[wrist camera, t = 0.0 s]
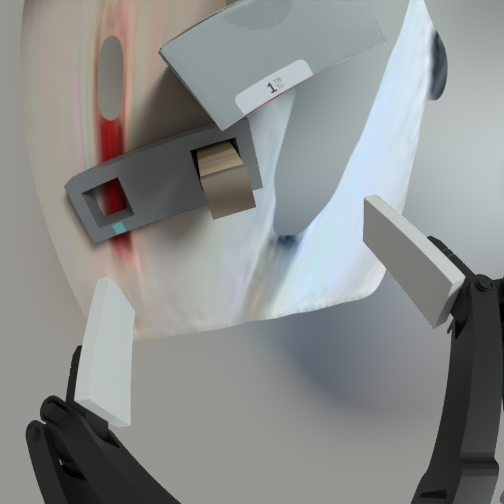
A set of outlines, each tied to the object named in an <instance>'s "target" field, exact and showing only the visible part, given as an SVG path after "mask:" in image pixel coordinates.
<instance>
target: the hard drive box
mask: <svg viewBox="0 0 504 504" xmlns="http://www.w3.org/2000/svg"><path fill="white" fill-rule="evenodd" d="M384 43H386V39H385V37H384V35H383V33H382V31H381V28H380V26H379V25H378V22H377V20H376V19H375V16H374V15H373V13H372V11H371V9H370V7H369V5H368V3H367V2H366V0H239V1H237V2H235V3H233V4H231V5H229V6H227V7H225V8H223V9H221V10H219V11H217V12H215V13H213V14H211V15H210V16H208V17H206V18H204V19H202V20H201V21H199V22H197V23H195V24H194V25H192V26H190V27H189V28H187V29H186V30H184V31H183V32H181V33H180V34H178V35H177V36H175V37H174V38H172V39H171V40H169V41H168V42H167V43H165V44H164V45H163V46H162V47H161V48H160V51H158V53H159V55H160V56H161V57H162V59H163V60H164V61H165V62H166V64H167V65H168V66H169V67H170V68H171V70H172V71H173V72H174V73H175V74H176V76H177V77H178V78H179V79H180V81H181V82H182V83H183V84H184V85H185V87H186V88H187V89H188V90H189V91H190V93H191V94H192V95H193V96H194V98H195V99H196V100H197V101H198V102H199V104H200V105H201V106H202V107H203V108H204V110H205V111H206V112H207V113H208V115H209V116H210V117H211V118H212V119H213V121H214V122H215V123H216V124H217V125H218V127H219V128H220V130H221V131H224V130H225V129H226V128H228V127H229V126H231V125H232V124H234V123H235V122H237V121H238V120H240V119H241V118H243V117H245V116H246V115H248V114H249V113H251V112H253V111H254V110H256V109H257V108H259V107H261V106H262V105H264V104H266V103H267V102H269V101H271V100H272V99H274V98H276V97H277V96H279V95H281V94H282V93H284V92H286V91H287V90H289V89H291V88H293V87H294V86H296V85H298V84H300V83H301V82H303V81H305V80H306V79H309V78H311V77H312V76H314V75H315V74H317V73H319V72H321V71H323V70H325V69H327V68H330V67H332V66H334V65H336V64H338V63H340V62H343V61H345V60H347V59H349V58H351V57H353V56H355V55H358V54H360V53H362V52H365V51H367V50H369V49H372V48H374V47H376V46H379V45H381V44H384Z"/></svg>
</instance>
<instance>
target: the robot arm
mask: <svg viewBox="0 0 504 504" xmlns="http://www.w3.org/2000/svg"><path fill="white" fill-rule="evenodd" d="M363 242H364V243H365V244H366V245H367V246H368V247H369V248H370V250H371V251H372V252H373V253H374V254H375V255H376V257H377V258H378V259H379V260H380V261H381V262H382V264H383V265H384V266H385V267H386V268H387V270H388V271H389V272H390V273H391V274H392V275H393V277H394V278H395V279H396V281H397V282H398V283H399V284H400V286H401V287H402V288H403V289H404V290H405V292H406V293H407V294H408V296H409V297H410V298H411V299H412V301H413V302H414V303H415V305H416V306H417V307H418V309H419V310H420V311H421V312H422V314H423V315H424V316H425V318H426V319H427V321H428V322H429V323H430V325H431V326H432V328H433V329H434V328H436V327H438V326H439V325H441V324H443V323H444V322H446V320H447V318H448V316H449V314H450V313H451V315H452V316H453V317H454V318H453V320H452V322H451V324H450V326H449V328H448V331H447V333H448V334H449V332H450V330H451V329H452V335H451V351H450V363H449V373H448V380H447V388H446V394H445V400H444V406H443V412H442V417H441V421H440V426H439V431H438V435H437V439H436V443H435V447H434V450H433V454H432V458H431V461H430V464H429V467H428V470H427V471H426V473H425V474H424V475H423V477H422V478H421V480H420V482H419V484H418V487H417V489H416V492H415V494H414V497H413V500H412V502H411V504H490V503H491V499H492V496H493V493H494V490H495V486H496V482H497V478H498V473H499V465H498V463H497V462H496V460H495V458H494V454H495V448H496V442H497V436H498V430H499V422H500V413H501V400H503V410H504V277H503V278H502V279H497V280H492V279H490V278H489V277H487V276H485V275H482V274H477V275H475V274H474V273H473V272H472V271H471V270H470V269H469V268H468V267H467V266H466V265H465V264H464V263H463V262H462V261H461V260H460V259H459V258H458V257H457V256H456V255H454V254H453V252H452V251H451V250H450V249H448V247H446V245H444V244H443V243H442V242H441V241H440V240H438V239H436V238H434V237H432V236H429V237H425V236H424V235H423V234H422V233H421V232H419V230H417V229H416V228H415V227H414V226H413V225H412V224H411V223H410V222H409V221H407V220H406V219H405V218H404V217H403V216H402V215H400V214H399V213H398V212H397V211H396V210H395V209H393V208H392V207H391V206H390V205H389V204H387V203H386V202H385V201H384V200H382V199H381V198H380V197H379V196H378V195H372V196H368V197H365V198H364V226H363ZM134 317H135V311H134V309H133V308H132V307H131V305H130V304H129V302H128V301H127V300H126V298H125V297H124V295H123V294H122V292H121V291H120V289H119V288H118V286H117V285H116V283H115V282H114V280H113V279H112V277H111V276H107V277H104V278H101V279H98V281H97V285H96V289H95V292H94V296H93V300H92V304H91V308H90V312H89V316H88V321H87V325H86V331H85V335H84V340H83V345H81V346H77V349H76V350H75V352H74V354H73V357H72V362H71V368H70V376H69V380H68V388H67V394H66V402H64V401H63V400H61V399H60V398H59V397H57V396H54V395H53V396H49V397H48V398H46V399H45V400H44V402H43V403H42V406H41V409H40V416H41V420H42V421H44V422H46V424H42V423H41V422H39V421H37V420H34V421H31V423H30V424H29V425H28V427H27V429H26V441H27V445H28V449H29V454H30V458H31V461H32V465H33V469H34V472H35V475H36V479H37V482H38V485H39V488H40V490H41V494H42V496H43V499H44V502H45V504H181V503H180V502H179V501H177V500H176V499H175V498H174V497H173V496H172V495H171V494H170V493H168V492H167V491H166V490H165V489H164V488H163V487H162V486H161V485H160V484H159V483H158V482H157V481H156V480H155V479H154V478H153V477H152V476H151V475H150V474H149V473H148V472H147V471H146V470H145V469H144V468H143V467H142V466H141V465H140V464H139V463H138V461H137V460H136V459H135V458H134V457H133V456H132V455H131V454H130V453H129V451H128V450H127V449H126V448H125V447H124V446H123V444H122V443H121V442H120V441H119V440H118V438H117V437H116V436H115V435H114V433H113V432H112V431H111V430H109V429H108V423H110V424H112V425H114V426H115V427H122V426H131V412H130V393H131V387H130V386H131V360H132V342H133V329H134ZM59 460H61V463H62V465H61V464H60V461H59ZM500 502H501V503H504V491H503V493H502V494H501V496H500Z"/></svg>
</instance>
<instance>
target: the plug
mask: <svg viewBox="0 0 504 504" xmlns="http://www.w3.org/2000/svg"><path fill="white" fill-rule="evenodd" d="M196 151H197V158H198V164H199V171H200V181H201V184H202V187H203V190H204V193H205V196H206V199H207V202H208V205H209V208H210V211H211V214H212V217H213V220H214V219H218V218H221V217H224V216H227V215H231V214H234V213H237V212H241V211H244V210H247V209H251V208H254V207H256V205H255V200H254V196H253V192H252V187H251V183H250V179H249V175H248V171H247V167H246V165H245V164H244V163H243V162H242V160H241V158H240V157H239V155H238V154H237V152H236V151H235V149H234V147H233V146H232V144H231V143H230V141H229V140H228V139H227V140H224V141H220V142H217V143H213V144H210V145H206V146H203V147H200V148H197V149H196Z"/></svg>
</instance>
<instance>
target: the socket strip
mask: <svg viewBox="0 0 504 504" xmlns="http://www.w3.org/2000/svg"><path fill="white" fill-rule="evenodd" d="M231 138H233V140H234V144H235V148H236V152H237V154H238V155H239V157H240V158H241V160H242V162H243V163H244V164H245V165H246V167H247V171H248V175H249V179H250V183H251V187H252V191H253V190H256V189H260V188H263V186H262V181H261V176H260V172H259V167H258V162H257V158H256V153H255V149H254V144H253V140H252V136H251V131H250V127H249V122H248V119H247V118H246V117H243V118H241V119H240V120H238V121H237V122H235V123H234V124H232V125H231V126H229V127H228V128H226V129H225V130H224V131H221V130H220V128H219V127H218V125H217V124H216V123H215V122H214V123H210V124H207V125H203V126H200V127H197V128H194V129H190V130H187V131H184V132H181V133H178V134H175V135H172V136H169V137H166V138H163V139H161V140H158V141H155V142H152V143H150V144H147V145H144V146H142V147H139V148H137V149H134V150H132V151H129V152H127V153H124V154H122V155H119V156H117V157H115V158H112V159H110V160H108V161H106V162H103V163H101V164H99V165H97V166H95V167H92V168H90V169H88V170H86V171H84V172H82V173H80V174H78V175H76V176H74V177H72V178H71V179H70V180H69V181H68V183H67V184H66V185H65V186H64V187H65V189H66V191H67V194H68V196H69V198H70V200H71V202H72V204H73V205H74V207H75V209H76V211H77V213H78V215H79V217H80V219H81V221H82V222H83V224H84V226H85V228H86V230H87V232H88V233H89V235H90V237H91V239H92V240H93V242H94V244H95V243H98V242H100V241H103V240H105V239H108V238H111V237H113V236H116V235H119V234H121V233H124V232H127V231H129V230H132V229H135V228H138V227H141V226H143V225H146V224H149V223H152V222H155V221H158V220H160V219H163V218H166V217H169V216H172V215H175V214H178V213H181V212H184V211H187V210H190V209H193V208H197V207H200V206H203V205H206V204H208V202H207V199H206V196H205V193H204V190H203V187H202V184H201V181H200V177H199V174H198V170H197V167H196V164H195V161H194V158H193V155H192V152H191V150H194V149H197V148H200V147H203V146H206V145H210V144H213V143H217V142H220V141H224V140H227V139H231ZM117 177H118V179H119V181H120V183H121V186H122V188H123V190H124V192H125V195H126V197H127V199H128V201H129V203H130V206H131V207H128V208H126V209H123V210H121V211H118V212H116V213H113V214H111V215H108V216H106V217H104V215H103V213H102V211H101V209H100V207H99V205H98V203H97V201H96V199H95V197H94V195H93V193H92V191H91V189H92V188H94V187H96V186H98V185H101V184H103V183H105V182H107V181H110V180H112V179H114V178H117Z"/></svg>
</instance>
